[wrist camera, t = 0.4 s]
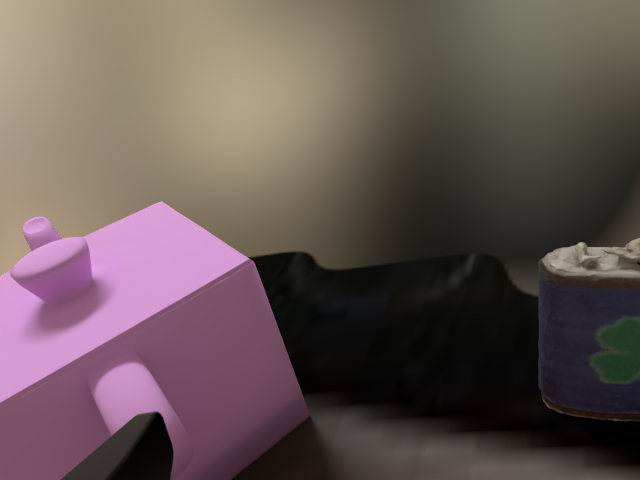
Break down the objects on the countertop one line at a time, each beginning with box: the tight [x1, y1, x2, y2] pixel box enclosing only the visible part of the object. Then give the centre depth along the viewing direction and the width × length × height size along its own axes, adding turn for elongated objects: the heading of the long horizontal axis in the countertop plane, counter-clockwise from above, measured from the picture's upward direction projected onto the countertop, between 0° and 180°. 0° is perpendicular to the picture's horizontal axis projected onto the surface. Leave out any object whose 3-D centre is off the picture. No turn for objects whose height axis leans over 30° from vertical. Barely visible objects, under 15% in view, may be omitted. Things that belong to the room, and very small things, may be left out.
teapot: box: [0, 201, 310, 480], centre depth 28 cm, size 15×25×14 cm, turn 37°
